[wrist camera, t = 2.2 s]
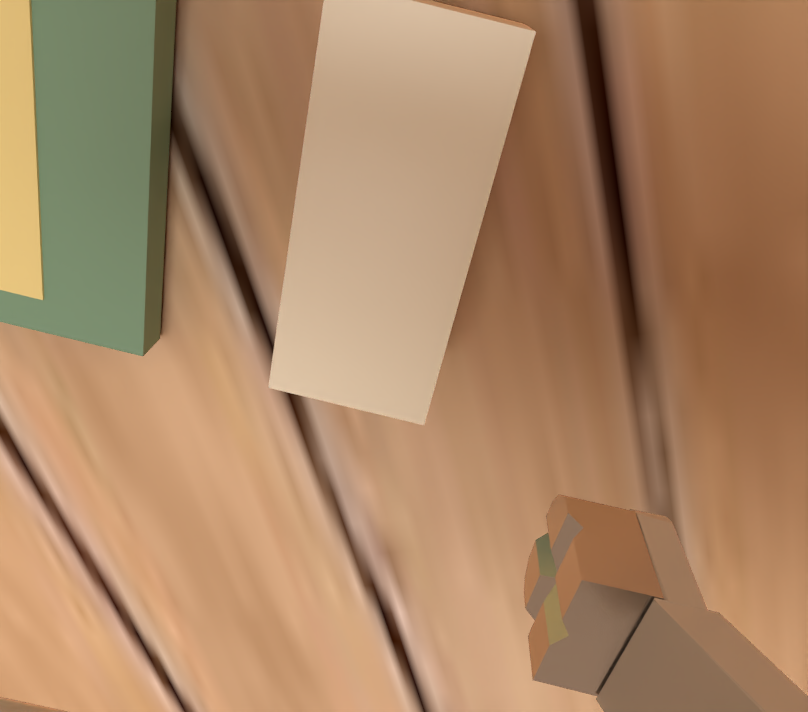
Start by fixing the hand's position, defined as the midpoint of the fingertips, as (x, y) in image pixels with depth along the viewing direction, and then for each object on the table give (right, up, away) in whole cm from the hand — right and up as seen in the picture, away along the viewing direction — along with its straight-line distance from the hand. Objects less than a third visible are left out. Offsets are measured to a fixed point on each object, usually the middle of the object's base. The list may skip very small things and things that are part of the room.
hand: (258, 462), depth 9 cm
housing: (+2, +7, +14) cm, 15 cm away
